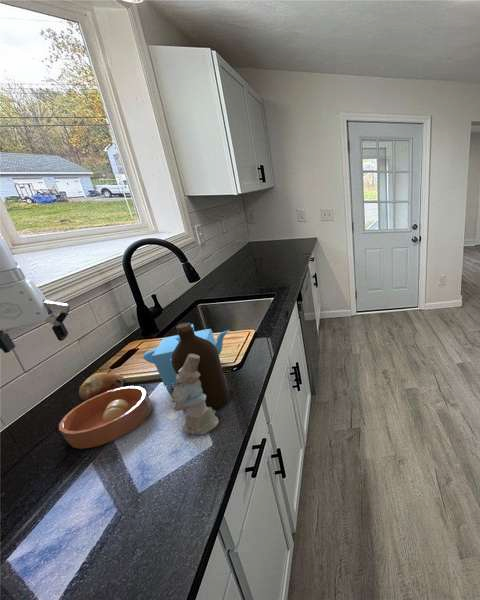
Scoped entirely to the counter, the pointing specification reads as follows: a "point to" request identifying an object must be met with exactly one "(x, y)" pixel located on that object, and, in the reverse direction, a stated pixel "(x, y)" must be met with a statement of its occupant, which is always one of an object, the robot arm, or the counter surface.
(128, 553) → the counter surface
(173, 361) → the olive oil
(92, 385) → the bread roll
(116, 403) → the potato
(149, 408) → the terracotta dish
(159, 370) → the light blue teapot
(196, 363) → the figurine
